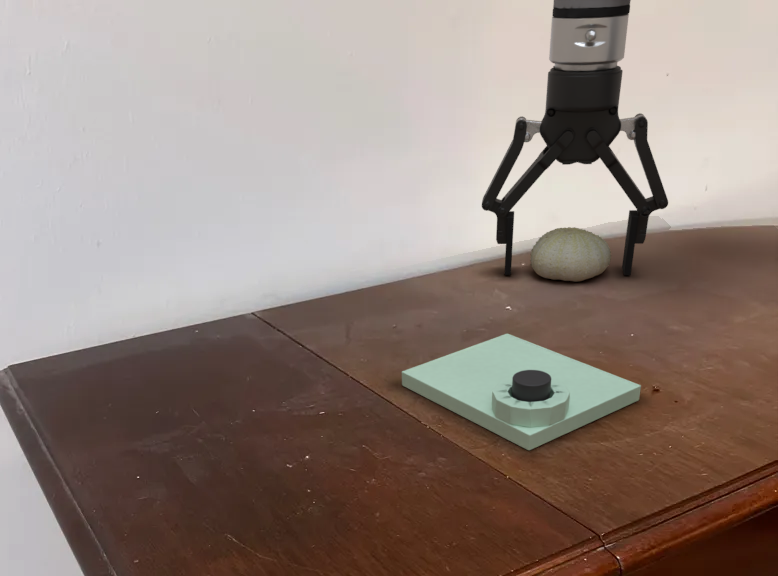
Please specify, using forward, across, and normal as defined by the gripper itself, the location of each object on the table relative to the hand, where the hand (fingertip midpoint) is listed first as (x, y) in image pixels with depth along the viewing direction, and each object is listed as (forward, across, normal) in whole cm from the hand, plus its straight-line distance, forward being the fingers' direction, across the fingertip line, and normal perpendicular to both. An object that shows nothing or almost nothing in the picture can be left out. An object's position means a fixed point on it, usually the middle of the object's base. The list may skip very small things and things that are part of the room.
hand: (566, 271), depth 96 cm
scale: (0, -5, -33) cm, 33 cm away
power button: (-3, -4, -39) cm, 39 cm away
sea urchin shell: (0, 0, 0) cm, 0 cm away
